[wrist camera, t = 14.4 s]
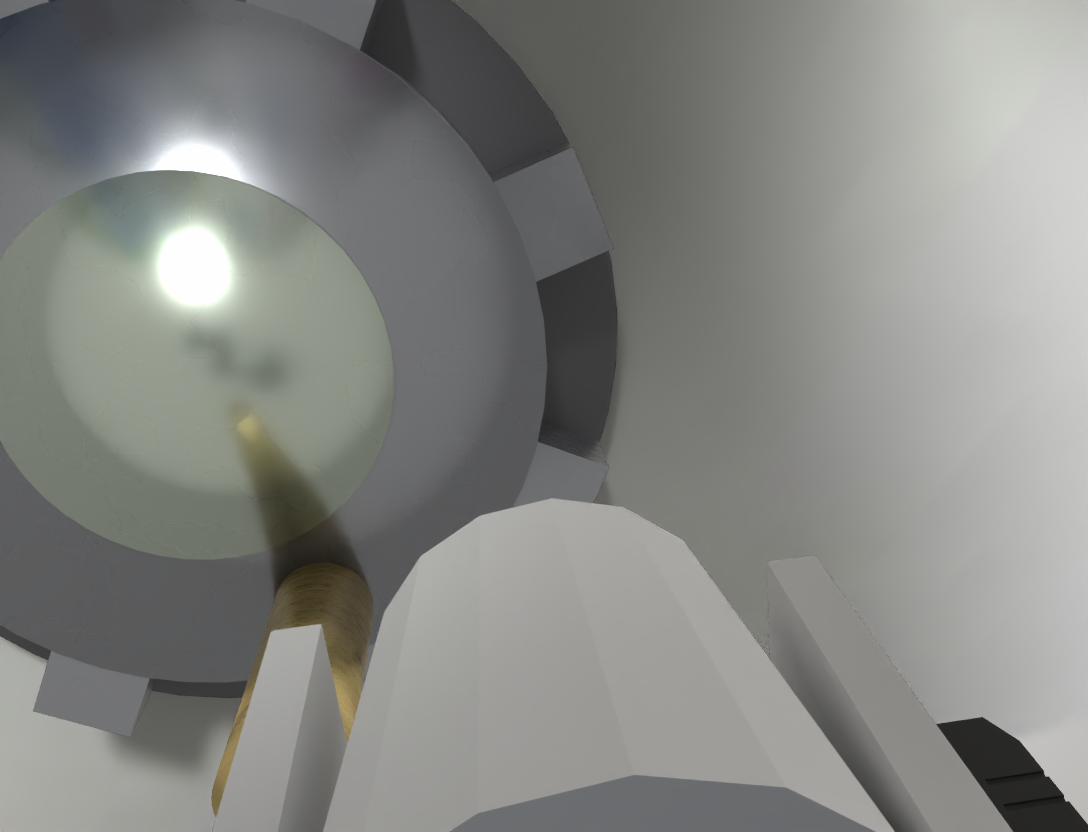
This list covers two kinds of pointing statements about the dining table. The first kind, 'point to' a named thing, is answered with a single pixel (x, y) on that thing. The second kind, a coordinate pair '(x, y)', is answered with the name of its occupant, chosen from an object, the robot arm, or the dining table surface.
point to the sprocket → (253, 340)
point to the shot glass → (580, 695)
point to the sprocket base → (499, 141)
